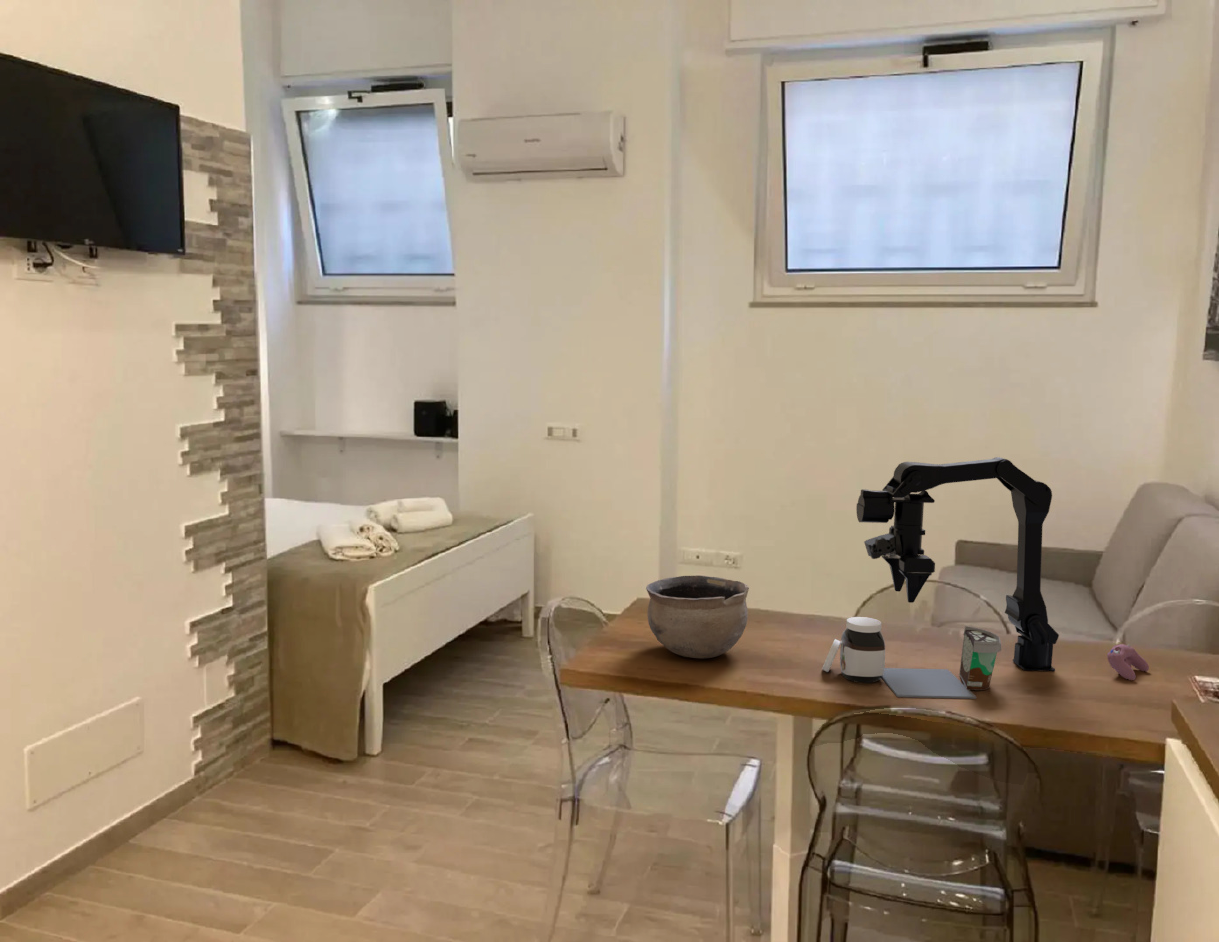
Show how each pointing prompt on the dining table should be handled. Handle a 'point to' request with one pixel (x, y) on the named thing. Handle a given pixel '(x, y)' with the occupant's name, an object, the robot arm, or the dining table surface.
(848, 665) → the spread jar
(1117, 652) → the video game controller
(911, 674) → the mat
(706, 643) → the ceramic bowl
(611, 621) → the dining table surface
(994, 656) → the food container
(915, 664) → the dining table surface
